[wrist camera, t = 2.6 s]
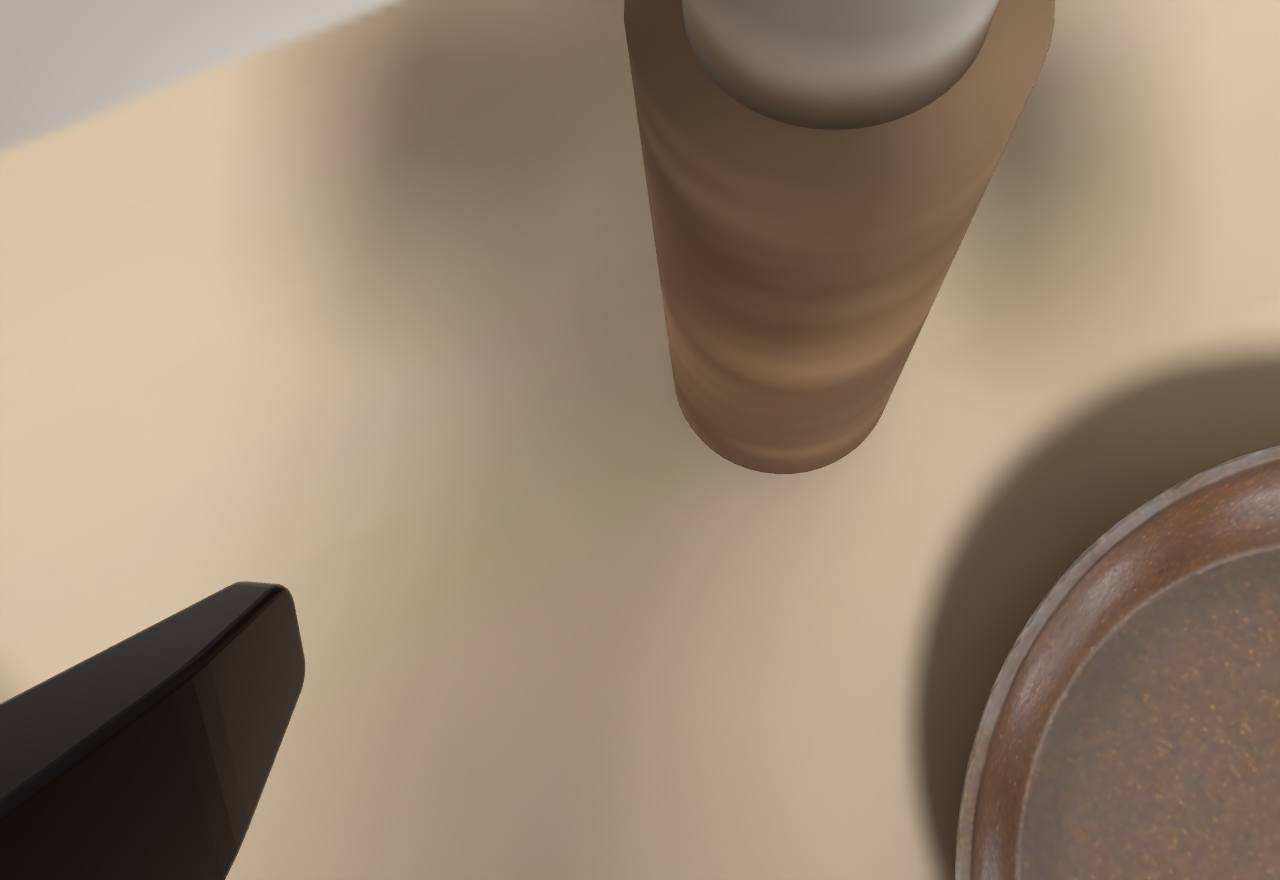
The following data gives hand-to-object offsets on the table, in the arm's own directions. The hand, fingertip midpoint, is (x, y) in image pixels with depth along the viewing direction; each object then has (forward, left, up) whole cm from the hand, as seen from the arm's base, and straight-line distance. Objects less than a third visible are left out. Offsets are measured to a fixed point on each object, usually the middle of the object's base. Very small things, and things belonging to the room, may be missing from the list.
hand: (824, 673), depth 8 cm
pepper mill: (+6, -6, -13) cm, 16 cm away
